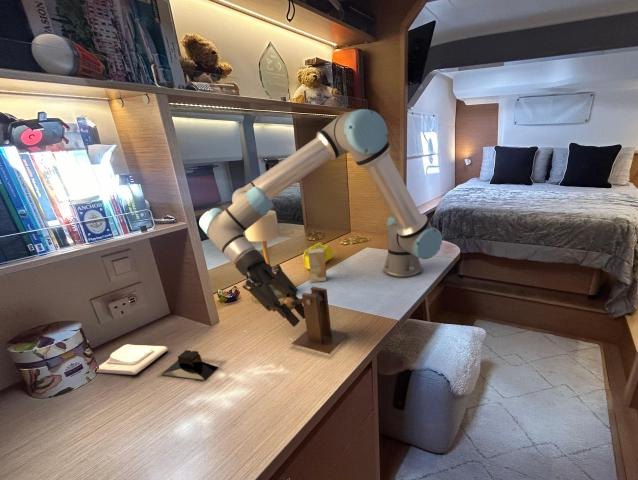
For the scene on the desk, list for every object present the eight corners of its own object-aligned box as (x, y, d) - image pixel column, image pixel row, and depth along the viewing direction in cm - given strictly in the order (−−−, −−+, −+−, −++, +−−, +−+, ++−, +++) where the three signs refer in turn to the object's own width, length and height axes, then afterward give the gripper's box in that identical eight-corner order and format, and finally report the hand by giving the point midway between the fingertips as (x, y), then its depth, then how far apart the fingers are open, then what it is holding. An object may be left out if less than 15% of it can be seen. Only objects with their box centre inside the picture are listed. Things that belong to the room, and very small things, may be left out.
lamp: (271, 285, 133) (257, 208, 121) (300, 290, 127) (289, 210, 115) (245, 300, 121) (226, 217, 109) (275, 306, 116) (260, 219, 104)
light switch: (126, 337, 94) (164, 338, 92) (131, 349, 96) (169, 351, 93) (88, 360, 85) (129, 363, 82) (95, 374, 86) (136, 377, 83)
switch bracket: (292, 348, 92) (283, 295, 86) (313, 329, 100) (306, 281, 94) (329, 357, 87) (323, 303, 81) (348, 338, 96) (344, 287, 89)
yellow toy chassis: (322, 258, 160) (320, 240, 157) (333, 259, 158) (331, 241, 155) (304, 270, 146) (301, 251, 143) (315, 271, 144) (313, 252, 141)
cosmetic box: (311, 282, 133) (307, 253, 128) (311, 278, 137) (307, 249, 132) (327, 280, 134) (324, 251, 129) (327, 276, 138) (323, 248, 133)
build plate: (222, 363, 87) (219, 348, 86) (204, 382, 81) (199, 366, 79) (181, 358, 90) (177, 343, 88) (160, 376, 83) (154, 360, 82)
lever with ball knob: (282, 314, 93) (276, 302, 93) (290, 308, 97) (285, 296, 96) (317, 306, 86) (311, 293, 86) (325, 300, 90) (320, 287, 89)
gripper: (261, 255, 103) (312, 313, 103) (216, 276, 89) (275, 342, 89) (272, 240, 99) (325, 300, 98) (226, 259, 85) (288, 328, 85)
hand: (301, 320), depth 94 cm, fingers closed on lever with ball knob, 4 cm apart
